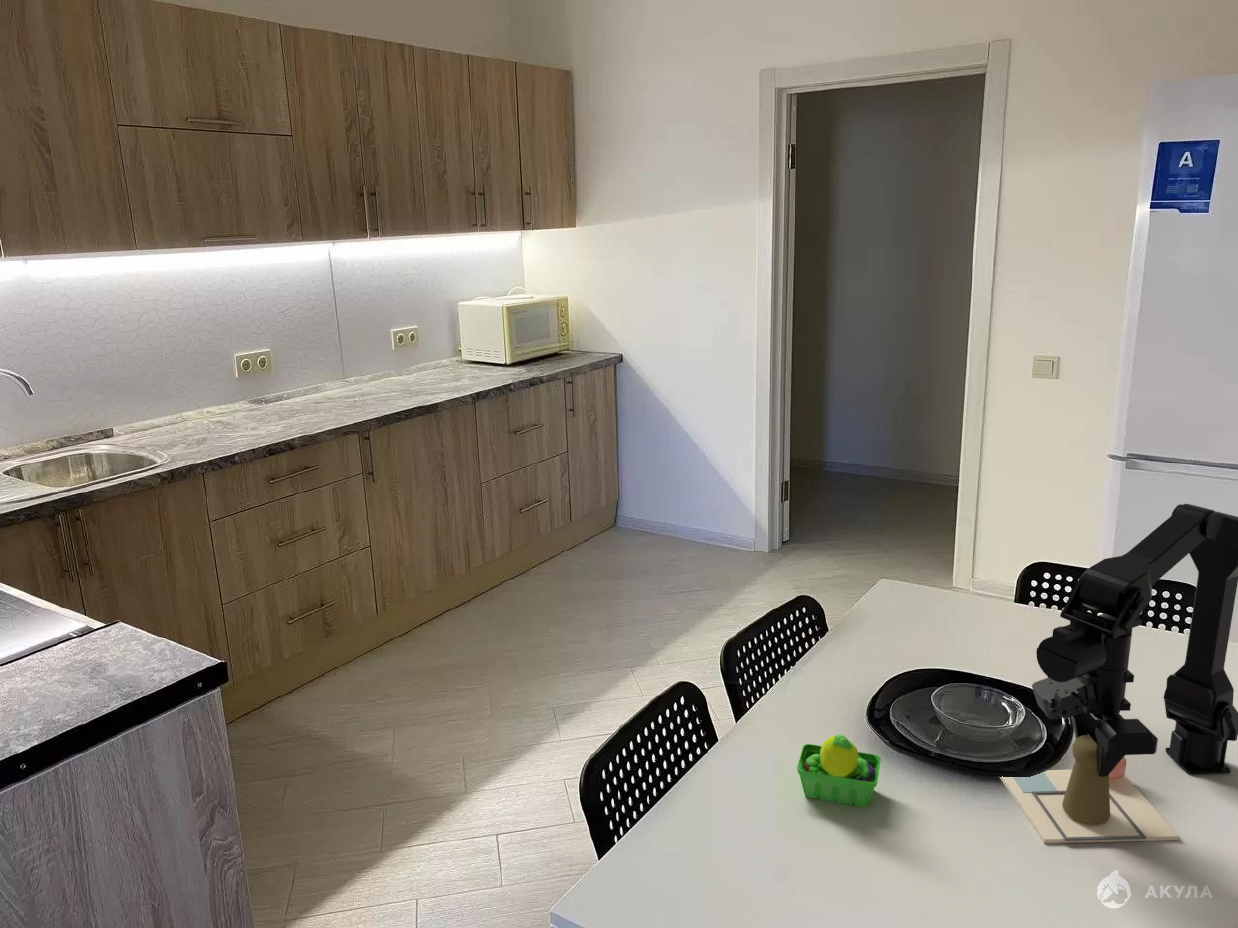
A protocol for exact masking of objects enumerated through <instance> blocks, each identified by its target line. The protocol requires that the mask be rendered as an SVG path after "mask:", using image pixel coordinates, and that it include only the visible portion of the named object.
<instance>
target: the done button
mask: <svg viewBox="0 0 1238 928" xmlns="http://www.w3.org/2000/svg"><path fill="white" fill-rule="evenodd" d="M1126 767H1127V759H1126V757H1125V756H1124V757H1123V759H1122V760H1121V761H1120V762H1119V763H1118V764H1117V765H1116V767H1115V768H1114V769H1113V770H1112V771H1111V773H1110V774H1109V779H1120V778H1122V777H1124V775H1125V776H1126V769H1127V768H1126Z"/></svg>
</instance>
